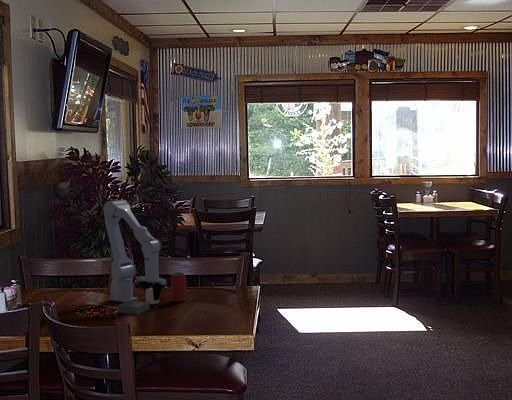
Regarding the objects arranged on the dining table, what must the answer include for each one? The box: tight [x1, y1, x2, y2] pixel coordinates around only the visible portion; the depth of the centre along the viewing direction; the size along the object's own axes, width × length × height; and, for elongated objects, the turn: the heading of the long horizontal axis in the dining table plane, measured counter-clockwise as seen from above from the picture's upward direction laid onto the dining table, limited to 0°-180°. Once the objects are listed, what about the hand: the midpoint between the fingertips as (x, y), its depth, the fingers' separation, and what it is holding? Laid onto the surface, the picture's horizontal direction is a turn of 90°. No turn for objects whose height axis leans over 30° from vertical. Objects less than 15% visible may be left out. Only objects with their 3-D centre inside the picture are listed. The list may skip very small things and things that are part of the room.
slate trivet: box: [117, 300, 151, 315], centre depth 278 cm, size 9×9×3 cm
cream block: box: [145, 288, 160, 305], centre depth 291 cm, size 4×4×6 cm
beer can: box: [170, 272, 187, 303], centre depth 296 cm, size 7×7×12 cm
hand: (152, 299), depth 291 cm, fingers closed on cream block, 4 cm apart
